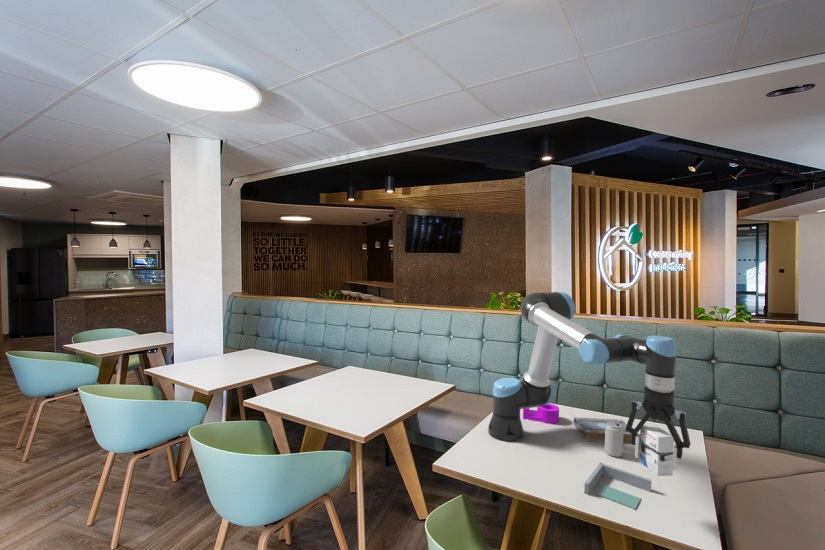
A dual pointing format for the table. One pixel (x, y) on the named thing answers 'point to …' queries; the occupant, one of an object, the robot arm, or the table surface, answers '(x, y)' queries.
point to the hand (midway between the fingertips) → (655, 461)
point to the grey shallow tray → (598, 429)
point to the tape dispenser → (543, 414)
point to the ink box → (656, 450)
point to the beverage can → (614, 439)
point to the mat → (619, 497)
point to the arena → (617, 475)
